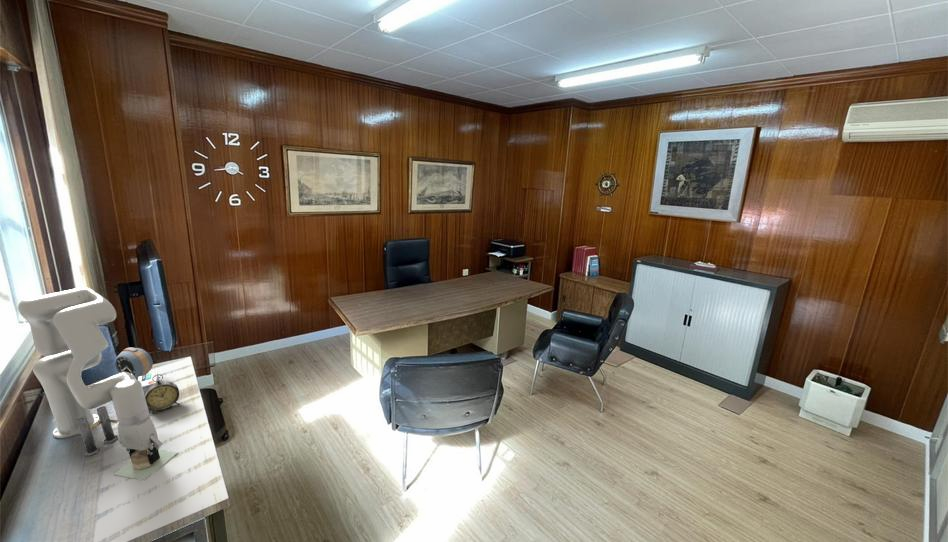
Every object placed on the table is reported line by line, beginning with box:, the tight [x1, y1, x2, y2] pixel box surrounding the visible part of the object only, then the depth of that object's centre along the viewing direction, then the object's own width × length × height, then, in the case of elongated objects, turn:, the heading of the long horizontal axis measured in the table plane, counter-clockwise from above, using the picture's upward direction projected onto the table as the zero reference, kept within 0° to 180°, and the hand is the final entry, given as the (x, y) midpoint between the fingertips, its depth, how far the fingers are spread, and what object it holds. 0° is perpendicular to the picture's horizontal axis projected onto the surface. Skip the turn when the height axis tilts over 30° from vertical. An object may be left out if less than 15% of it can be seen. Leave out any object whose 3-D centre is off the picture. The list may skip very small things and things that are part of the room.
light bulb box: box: [138, 371, 160, 409], centre depth 157 cm, size 11×7×11 cm, turn 37°
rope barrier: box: [77, 405, 151, 457], centre depth 130 cm, size 19×10×14 cm, turn 81°
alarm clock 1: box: [114, 347, 161, 380], centre depth 170 cm, size 14×10×18 cm
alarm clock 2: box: [145, 373, 180, 414], centre depth 152 cm, size 11×5×16 cm, turn 132°
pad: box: [113, 448, 179, 481], centre depth 126 cm, size 12×12×1 cm
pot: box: [130, 446, 158, 469], centre depth 125 cm, size 6×6×4 cm
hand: (145, 459), depth 126 cm, fingers closed on pot, 6 cm apart
